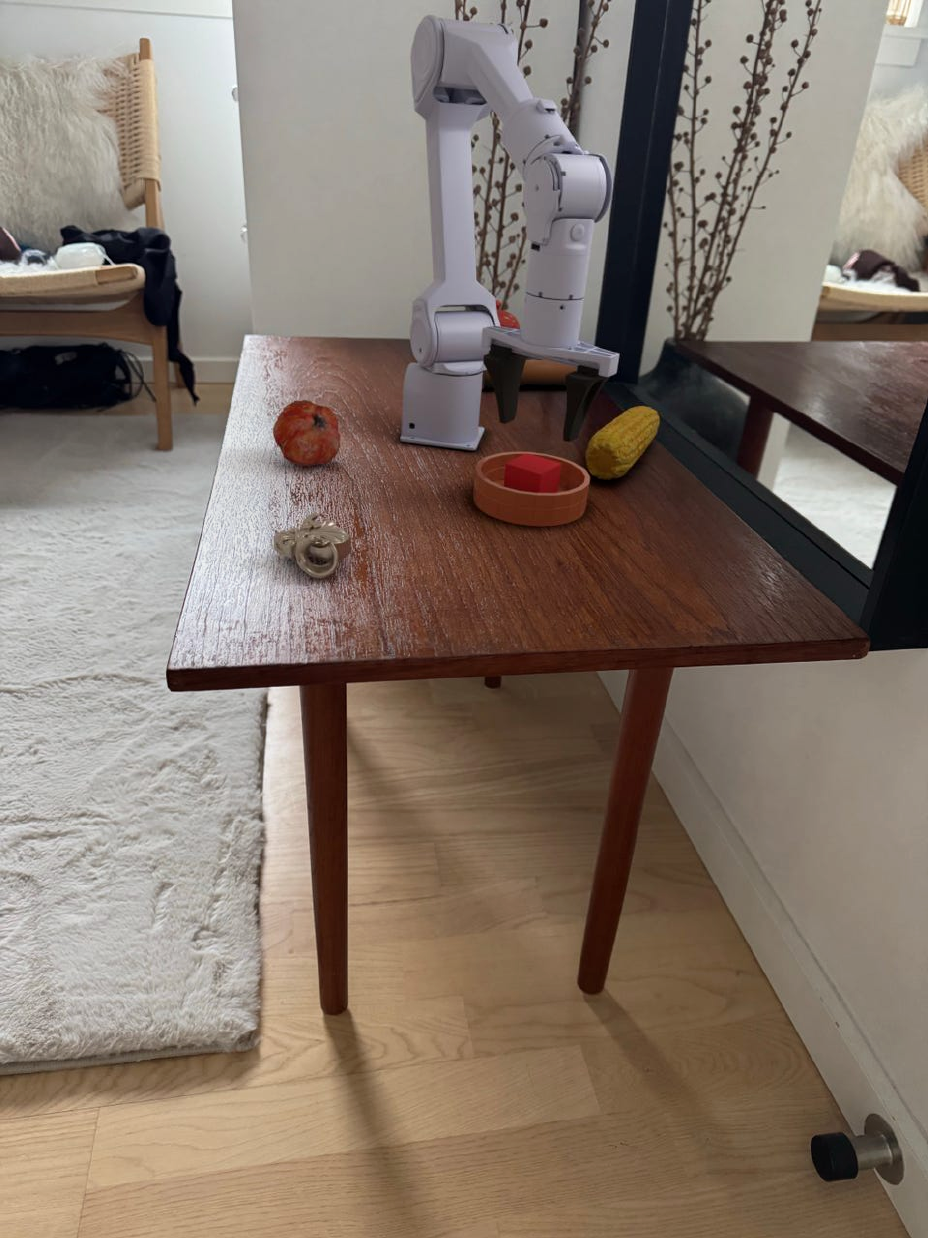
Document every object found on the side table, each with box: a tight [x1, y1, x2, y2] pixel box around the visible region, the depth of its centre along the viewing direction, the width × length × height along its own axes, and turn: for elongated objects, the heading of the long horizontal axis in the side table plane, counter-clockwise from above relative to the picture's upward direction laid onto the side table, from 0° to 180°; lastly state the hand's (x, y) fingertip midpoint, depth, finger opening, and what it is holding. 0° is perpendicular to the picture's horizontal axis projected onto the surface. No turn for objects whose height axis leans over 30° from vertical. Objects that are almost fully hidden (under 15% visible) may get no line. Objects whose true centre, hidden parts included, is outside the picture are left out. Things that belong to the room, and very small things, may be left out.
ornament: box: [272, 511, 351, 579], centre depth 80 cm, size 8×7×4 cm
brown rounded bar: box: [482, 358, 578, 390], centre depth 134 cm, size 18×7×7 cm
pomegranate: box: [272, 399, 341, 468], centre depth 100 cm, size 7×7×10 cm
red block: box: [503, 453, 561, 493], centre depth 95 cm, size 4×4×4 cm
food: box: [584, 405, 661, 481], centre depth 109 cm, size 21×6×6 cm, turn 157°
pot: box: [472, 451, 591, 527], centre depth 95 cm, size 12×12×4 cm
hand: (538, 429), depth 92 cm, fingers open, 7 cm apart
